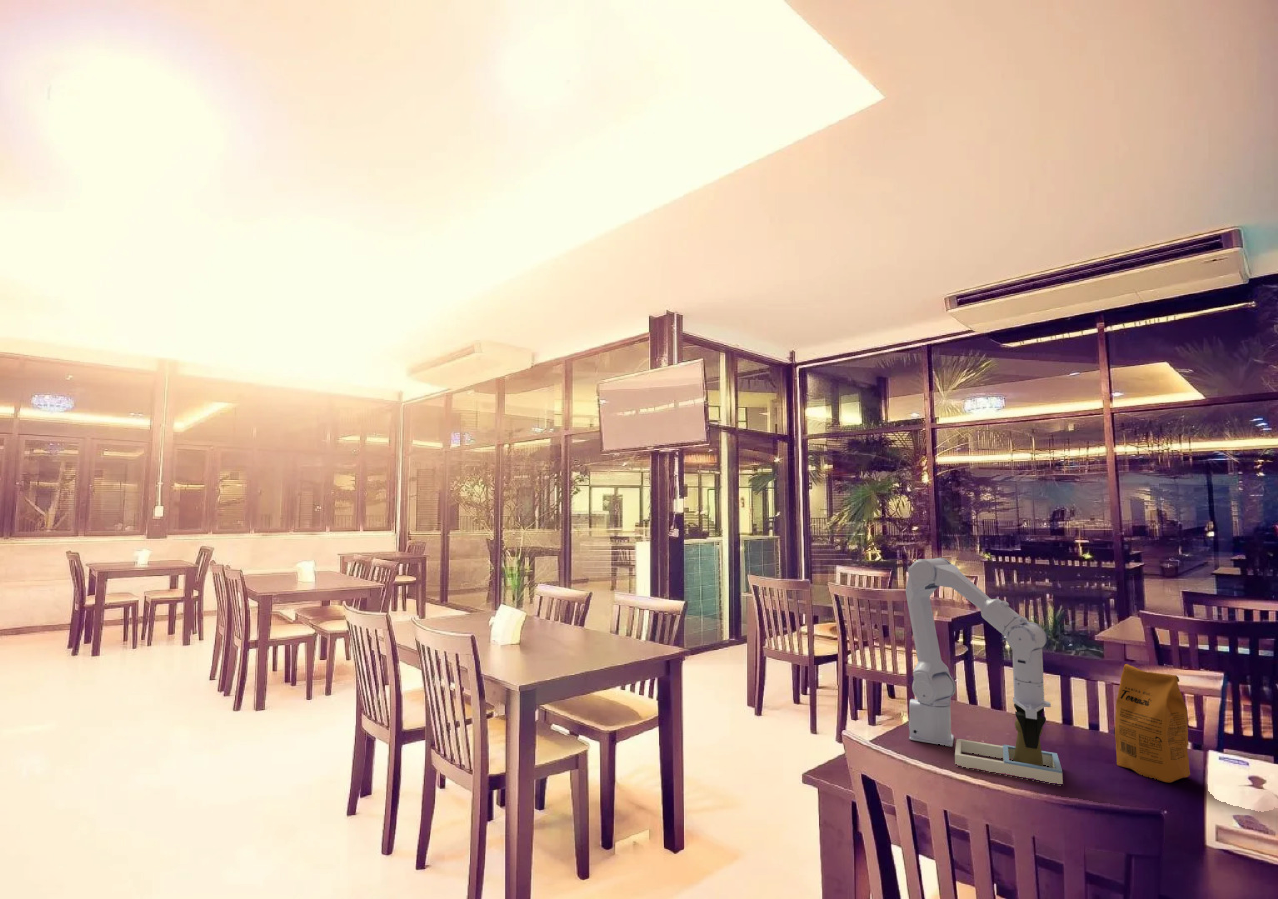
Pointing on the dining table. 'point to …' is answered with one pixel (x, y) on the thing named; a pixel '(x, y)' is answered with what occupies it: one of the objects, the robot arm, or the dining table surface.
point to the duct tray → (1007, 761)
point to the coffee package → (1151, 725)
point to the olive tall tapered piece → (1026, 749)
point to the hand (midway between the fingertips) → (1030, 743)
